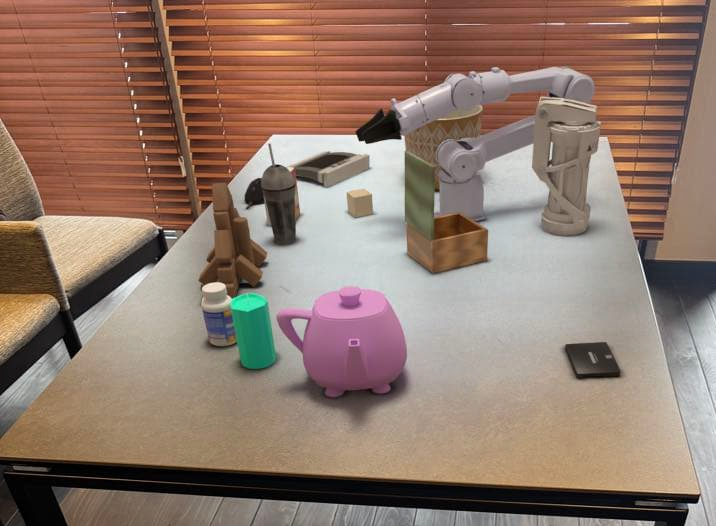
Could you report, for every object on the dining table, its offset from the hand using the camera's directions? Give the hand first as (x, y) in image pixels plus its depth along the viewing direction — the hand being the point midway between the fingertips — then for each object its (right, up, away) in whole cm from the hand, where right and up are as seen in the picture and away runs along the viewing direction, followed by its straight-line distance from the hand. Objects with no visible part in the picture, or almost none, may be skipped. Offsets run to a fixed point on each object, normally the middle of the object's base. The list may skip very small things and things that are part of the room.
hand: (360, 137), depth 162 cm
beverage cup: (-17, -17, +11) cm, 27 cm away
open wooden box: (+18, -24, +1) cm, 30 cm away
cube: (-1, -6, +22) cm, 23 cm away
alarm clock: (-12, +14, +45) cm, 48 cm away
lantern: (+43, -14, +12) cm, 47 cm away
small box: (-19, -9, +20) cm, 29 cm away
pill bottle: (-23, -48, -23) cm, 57 cm away
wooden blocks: (-25, -30, -3) cm, 39 cm away
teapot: (0, -58, -36) cm, 68 cm away
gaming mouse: (-27, +1, +32) cm, 42 cm away
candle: (-16, -52, -29) cm, 62 cm away
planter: (+19, +8, +37) cm, 42 cm away
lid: (+12, -16, -10) cm, 22 cm away
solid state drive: (+40, -54, -33) cm, 74 cm away
